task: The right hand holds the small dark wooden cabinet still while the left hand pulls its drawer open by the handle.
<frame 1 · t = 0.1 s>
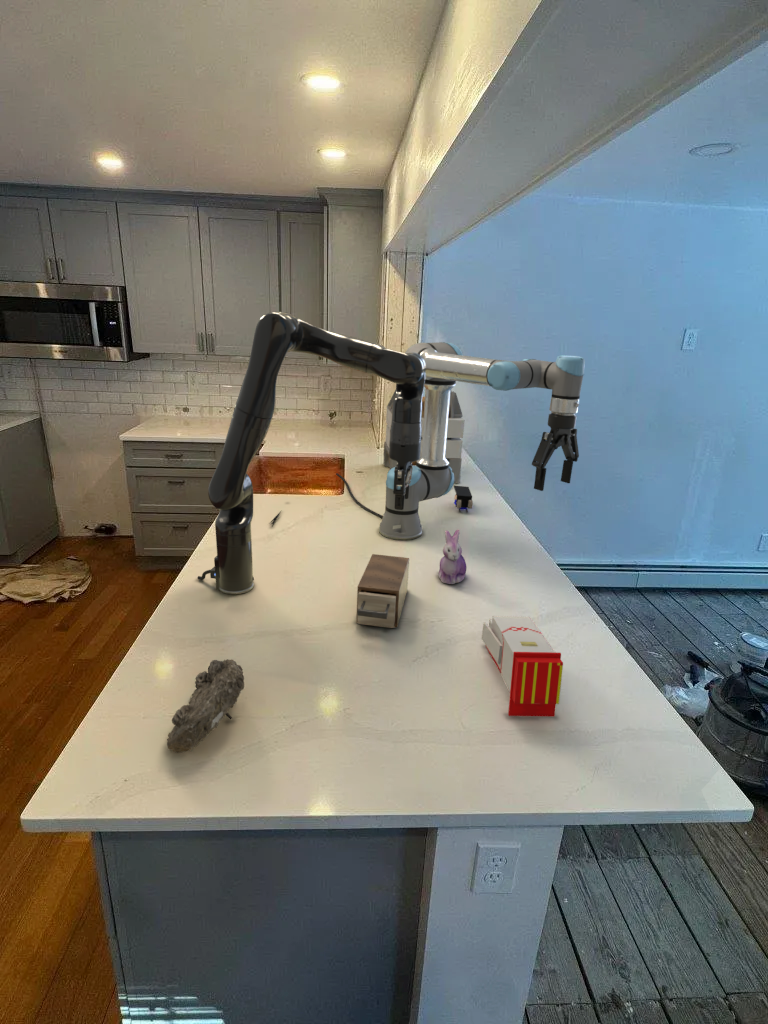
left hand: (401, 503, 141), 29 cm above the counter, tool pointing down, fingers open, 8 cm apart
right hand: (552, 485, 166), 28 cm above the counter, tool pointing down, fingers open, 13 cm apart
figurine character: (461, 508, 229), on the counter
feather: (279, 514, 213), on the counter
figurine: (451, 578, 169), on the counter
cabinet: (383, 606, 151), on the counter
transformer: (419, 473, 275), on the counter
grey lumpy elongated piece: (212, 717, 108), on the counter
drawer: (380, 598, 144), point 5 cm above the counter, slide at 0.8 cm
toy: (514, 675, 125), on the counter
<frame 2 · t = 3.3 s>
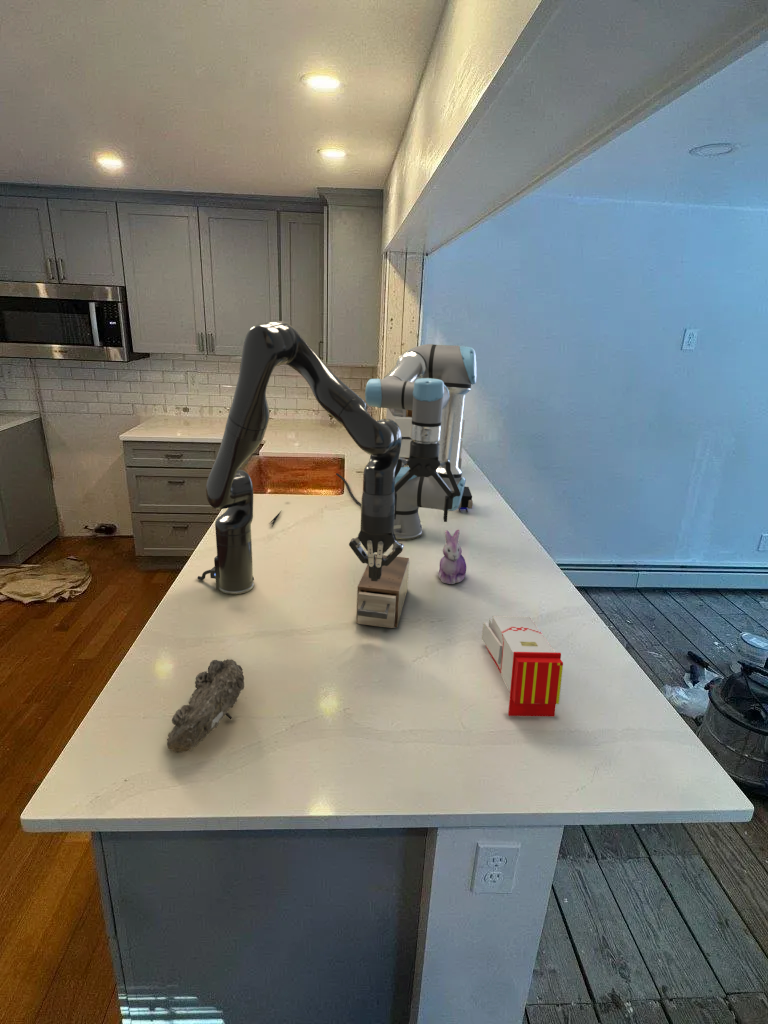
left hand: (375, 579, 132), 15 cm above the counter, tool pointing down, fingers closed
right hand: (419, 519, 152), 22 cm above the counter, tool pointing down, fingers open, 13 cm apart
nothing on the counter moved.
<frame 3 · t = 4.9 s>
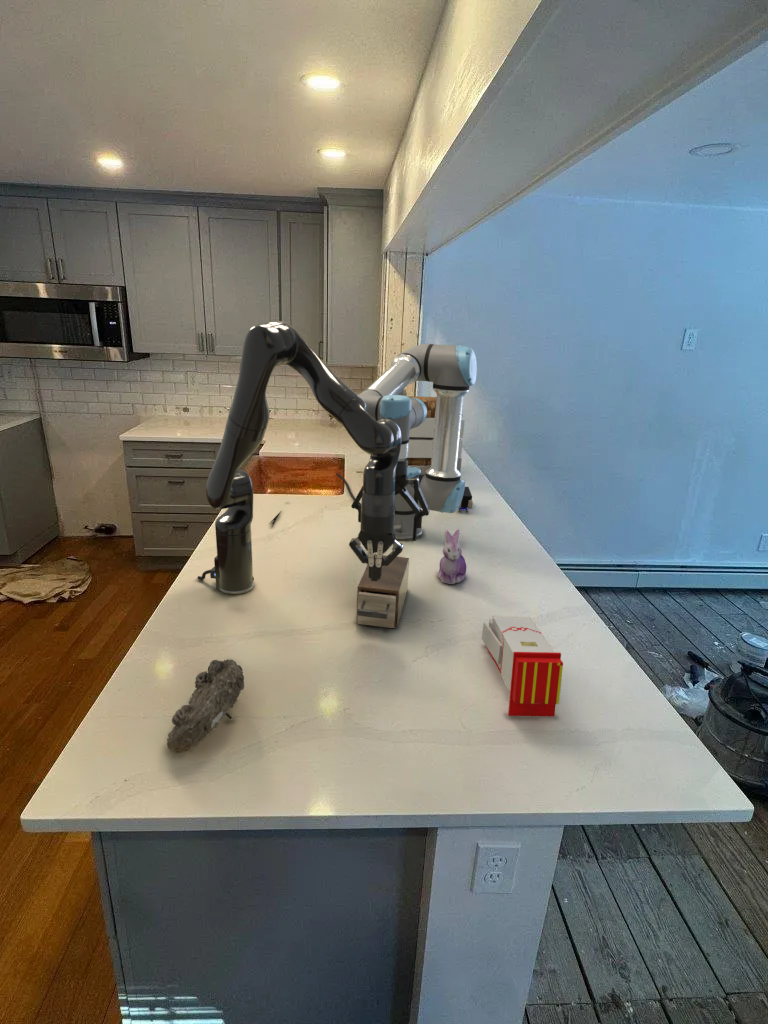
left hand: (375, 579, 132), 15 cm above the counter, tool pointing down, fingers closed
right hand: (389, 536, 150), 18 cm above the counter, tool pointing down, fingers open, 13 cm apart
nothing on the counter moved.
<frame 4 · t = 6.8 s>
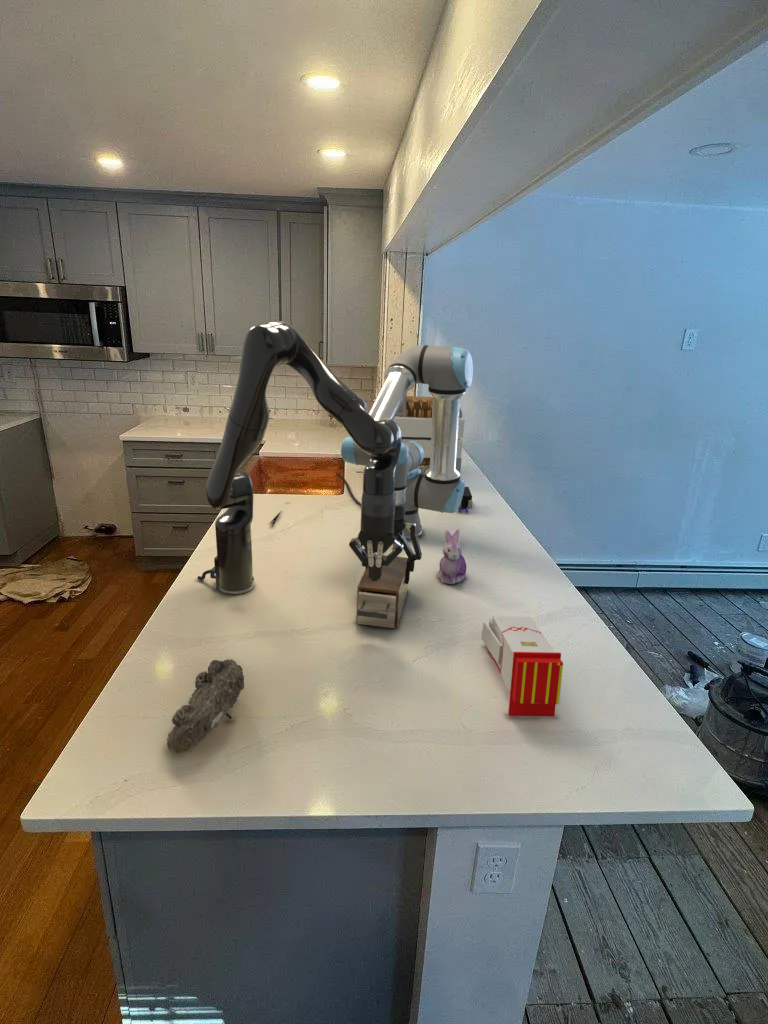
left hand: (375, 579, 132), 15 cm above the counter, tool pointing down, fingers closed
right hand: (387, 579, 154), 5 cm above the counter, tool pointing down, fingers closed on cabinet, 10 cm apart
cabinet: (383, 605, 151), on the counter, touching right hand
everything else where it was.
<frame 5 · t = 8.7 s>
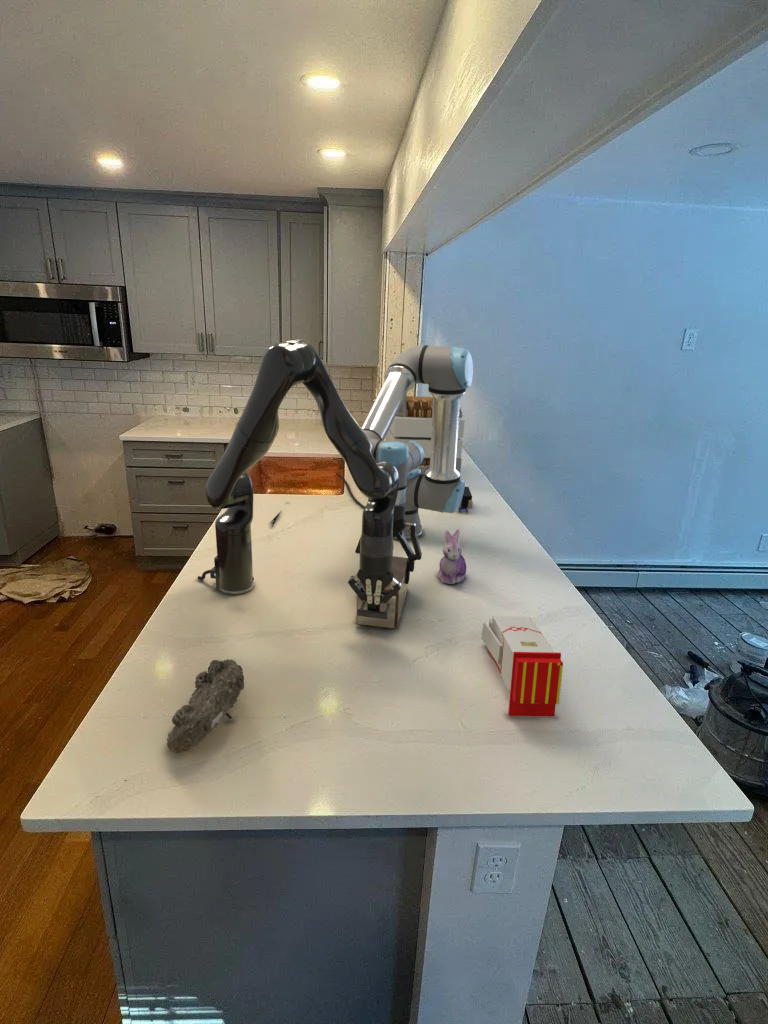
left hand: (373, 615, 135), 6 cm above the counter, tool pointing down, fingers closed
right hand: (387, 579, 154), 5 cm above the counter, tool pointing down, fingers closed on cabinet, 10 cm apart
cabinet: (383, 606, 151), on the counter, touching right hand
drawer: (380, 598, 144), point 5 cm above the counter, slide at 0.9 cm, touching left hand
everything else where it was.
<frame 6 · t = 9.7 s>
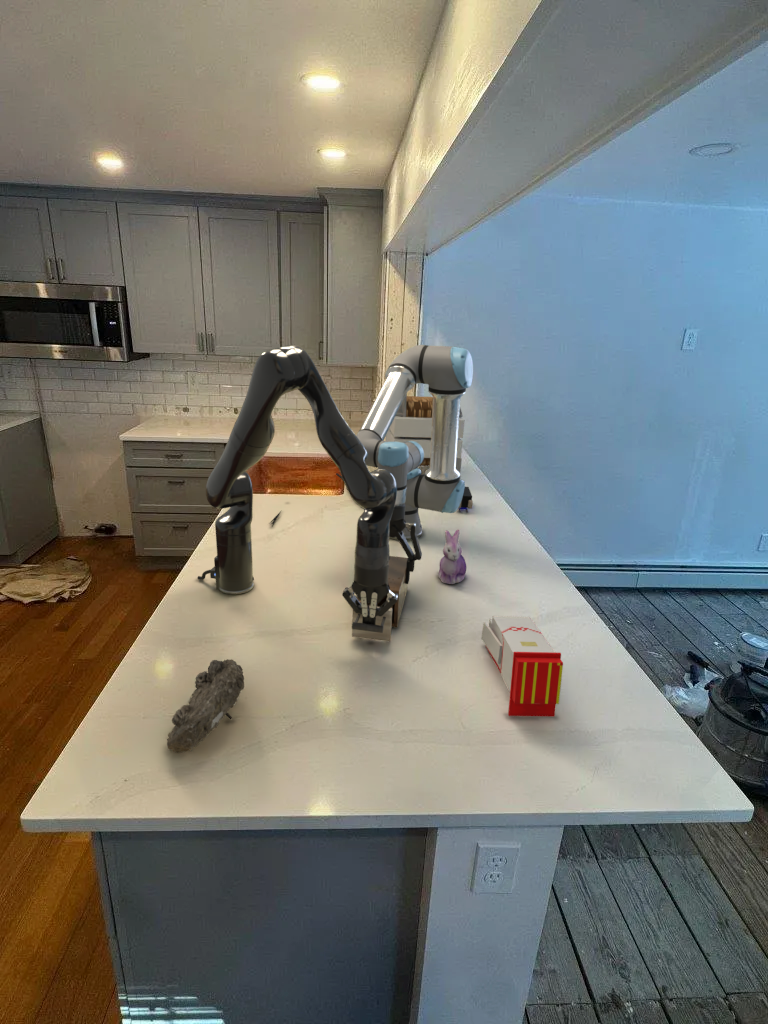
left hand: (368, 628, 130), 6 cm above the counter, tool pointing down, fingers closed
right hand: (387, 579, 154), 5 cm above the counter, tool pointing down, fingers closed on cabinet, 10 cm apart
cabinet: (383, 606, 151), on the counter, touching right hand
drawer: (376, 610, 139), point 5 cm above the counter, slide at 6.8 cm, touching left hand
everything else where it was.
when the right hand's fingers open (5 cm above the counter, at t = 11.3 s): cabinet stays where it is, on the counter.
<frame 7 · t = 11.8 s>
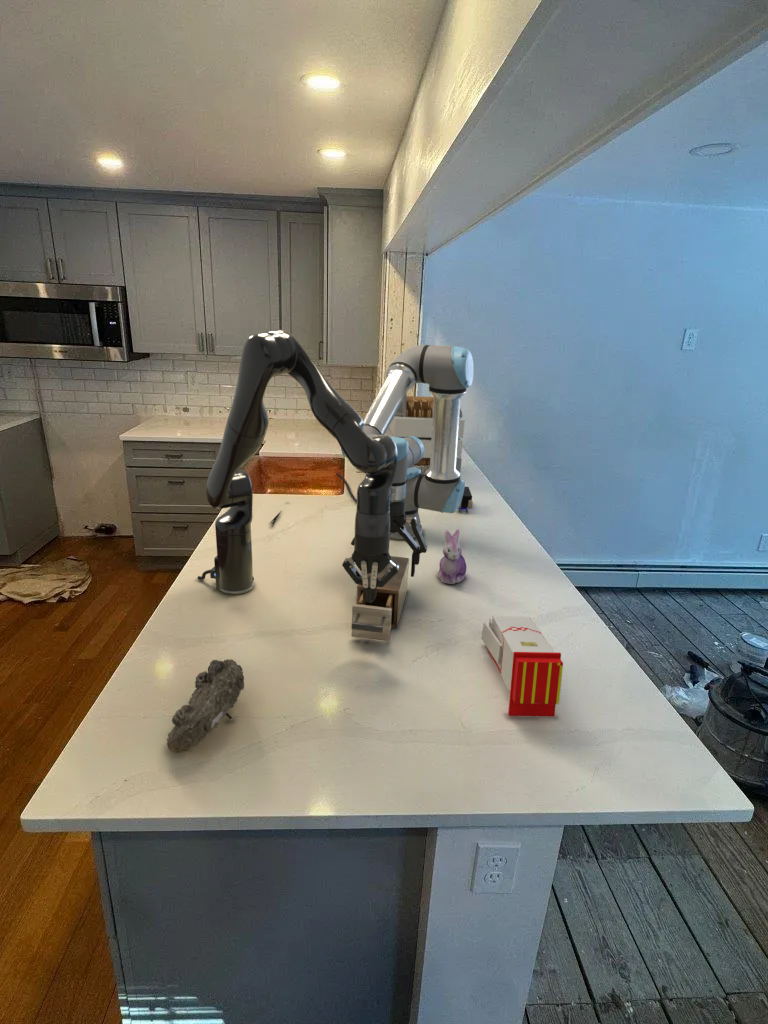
left hand: (369, 601, 127), 13 cm above the counter, tool pointing down, fingers closed
right hand: (387, 572, 154), 7 cm above the counter, tool pointing down, fingers open, 13 cm apart
cabinet: (383, 606, 151), on the counter
drawer: (375, 610, 139), point 5 cm above the counter, slide at 6.9 cm
everything else where it was.
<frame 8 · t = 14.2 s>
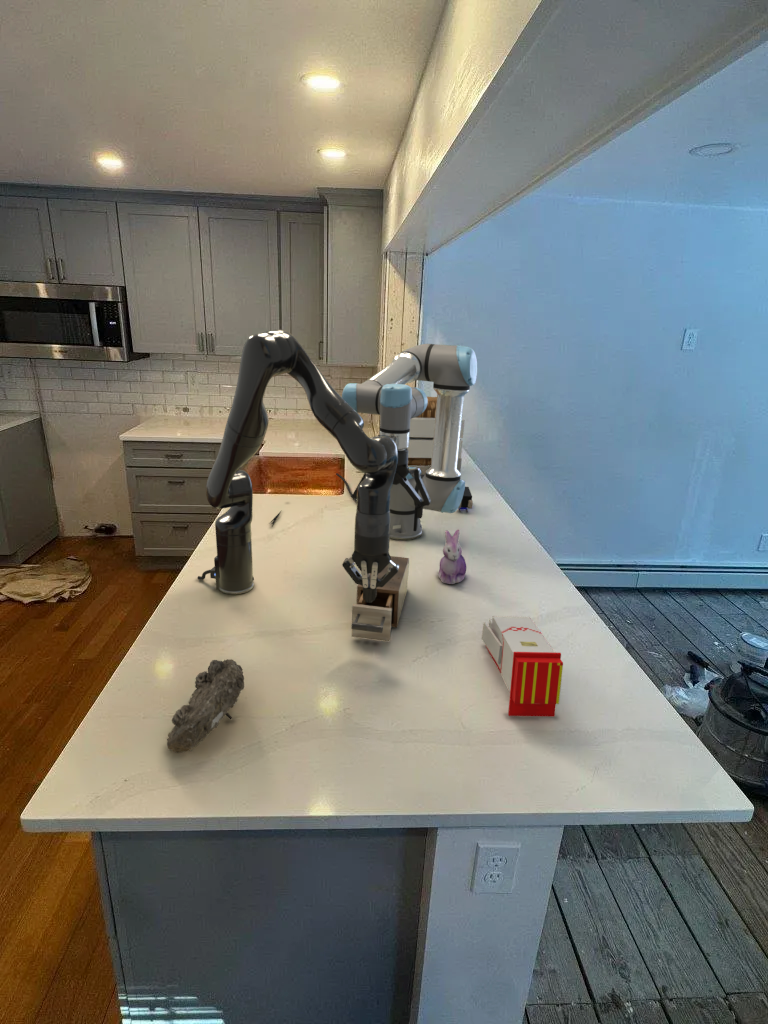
left hand: (369, 601, 127), 13 cm above the counter, tool pointing down, fingers closed
right hand: (389, 526, 149), 21 cm above the counter, tool pointing down, fingers open, 13 cm apart
nothing on the counter moved.
at the end: drawer slide at 6.9 cm; cabinet tilted 0°; cabinet never tilted more than 1° during the clip; cabinet moved 0.1 cm from its start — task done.
